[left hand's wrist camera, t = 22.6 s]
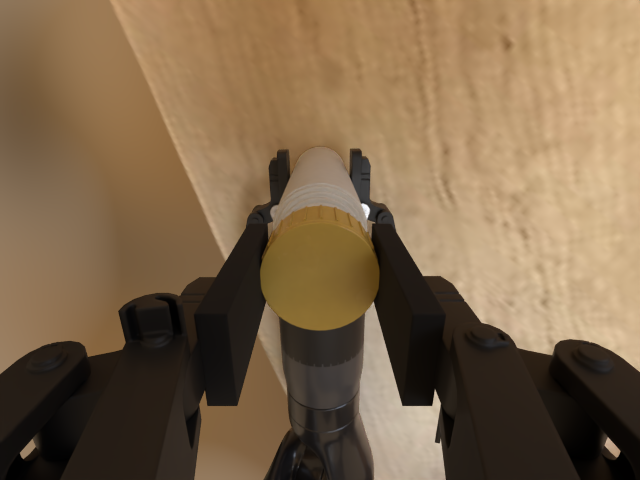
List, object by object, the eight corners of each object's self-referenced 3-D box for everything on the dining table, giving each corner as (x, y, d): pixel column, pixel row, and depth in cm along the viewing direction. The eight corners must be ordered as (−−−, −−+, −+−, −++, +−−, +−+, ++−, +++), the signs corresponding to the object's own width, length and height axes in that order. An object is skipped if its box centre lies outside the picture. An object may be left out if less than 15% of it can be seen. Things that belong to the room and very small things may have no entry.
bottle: (318, 135, 31) (316, 182, 12) (355, 171, 32) (409, 268, 13) (284, 173, 32) (230, 273, 13) (321, 207, 34) (322, 344, 14)
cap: (369, 198, 13) (378, 215, 11) (375, 296, 15) (384, 326, 13) (258, 210, 14) (247, 228, 12) (275, 305, 15) (268, 337, 13)
